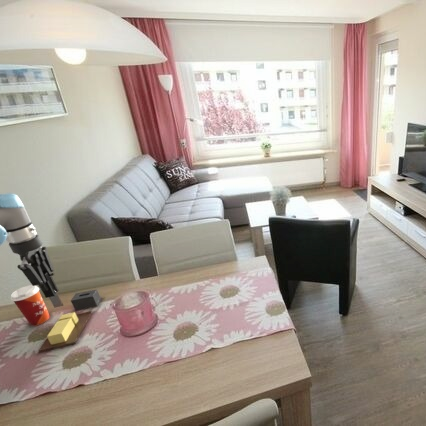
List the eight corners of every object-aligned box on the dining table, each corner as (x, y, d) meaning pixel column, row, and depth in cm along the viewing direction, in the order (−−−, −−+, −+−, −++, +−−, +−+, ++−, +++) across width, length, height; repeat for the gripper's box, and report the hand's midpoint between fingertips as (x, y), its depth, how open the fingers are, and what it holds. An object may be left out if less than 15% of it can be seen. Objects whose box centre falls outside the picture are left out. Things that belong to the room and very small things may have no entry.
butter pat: (62, 327, 114) (58, 319, 113) (65, 322, 116) (61, 314, 115) (76, 324, 115) (72, 316, 114) (78, 319, 118) (74, 312, 116)
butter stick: (51, 344, 106) (46, 336, 105) (61, 329, 113) (57, 321, 112) (65, 341, 108) (61, 333, 106) (75, 325, 115) (71, 318, 113)
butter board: (39, 352, 105) (38, 350, 104) (61, 319, 119) (60, 317, 119) (75, 344, 108) (74, 342, 107) (92, 312, 122) (91, 311, 122)
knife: (53, 309, 109) (35, 276, 103) (55, 305, 111) (38, 273, 105) (62, 307, 110) (45, 274, 104) (64, 304, 112) (47, 271, 105)
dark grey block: (75, 310, 124) (70, 300, 122) (80, 303, 128) (75, 293, 126) (97, 306, 126) (92, 296, 124) (101, 298, 130) (96, 289, 128)
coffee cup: (50, 322, 118) (34, 293, 112) (24, 331, 114) (5, 300, 108) (55, 310, 125) (40, 281, 119) (30, 317, 121) (13, 288, 115)
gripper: (24, 247, 93) (54, 304, 103) (47, 227, 106) (72, 280, 116) (-6, 251, 91) (28, 310, 101) (22, 231, 104) (50, 284, 114)
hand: (52, 294), depth 108 cm, fingers closed on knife, 2 cm apart
